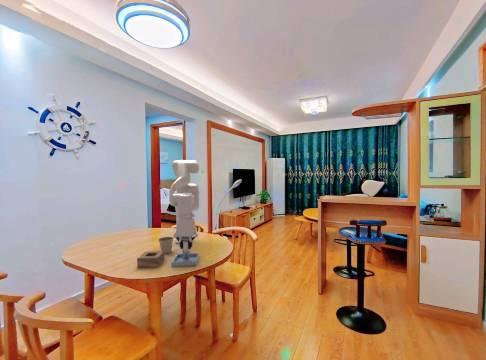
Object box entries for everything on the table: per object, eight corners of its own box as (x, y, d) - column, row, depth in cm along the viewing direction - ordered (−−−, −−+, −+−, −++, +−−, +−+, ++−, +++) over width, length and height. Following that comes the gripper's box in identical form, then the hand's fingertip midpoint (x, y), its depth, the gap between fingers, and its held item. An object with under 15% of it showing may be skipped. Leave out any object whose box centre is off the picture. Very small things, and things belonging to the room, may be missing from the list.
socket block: (145, 259, 132) (145, 251, 132) (164, 259, 133) (164, 250, 133) (137, 267, 121) (137, 258, 121) (158, 267, 122) (158, 257, 122)
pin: (182, 257, 131) (182, 236, 131) (191, 256, 132) (191, 236, 131) (180, 260, 126) (180, 238, 126) (189, 260, 127) (189, 238, 126)
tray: (177, 257, 135) (177, 253, 135) (199, 257, 136) (199, 253, 136) (171, 266, 122) (171, 262, 122) (196, 265, 123) (195, 261, 123)
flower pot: (157, 255, 139) (157, 241, 139) (159, 250, 149) (158, 237, 148) (173, 253, 142) (173, 240, 142) (174, 249, 151) (173, 236, 151)
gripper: (201, 214, 133) (201, 246, 133) (172, 215, 132) (172, 246, 132) (199, 217, 125) (199, 250, 126) (168, 217, 124) (169, 251, 125)
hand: (186, 248), depth 129 cm, fingers open, 4 cm apart
